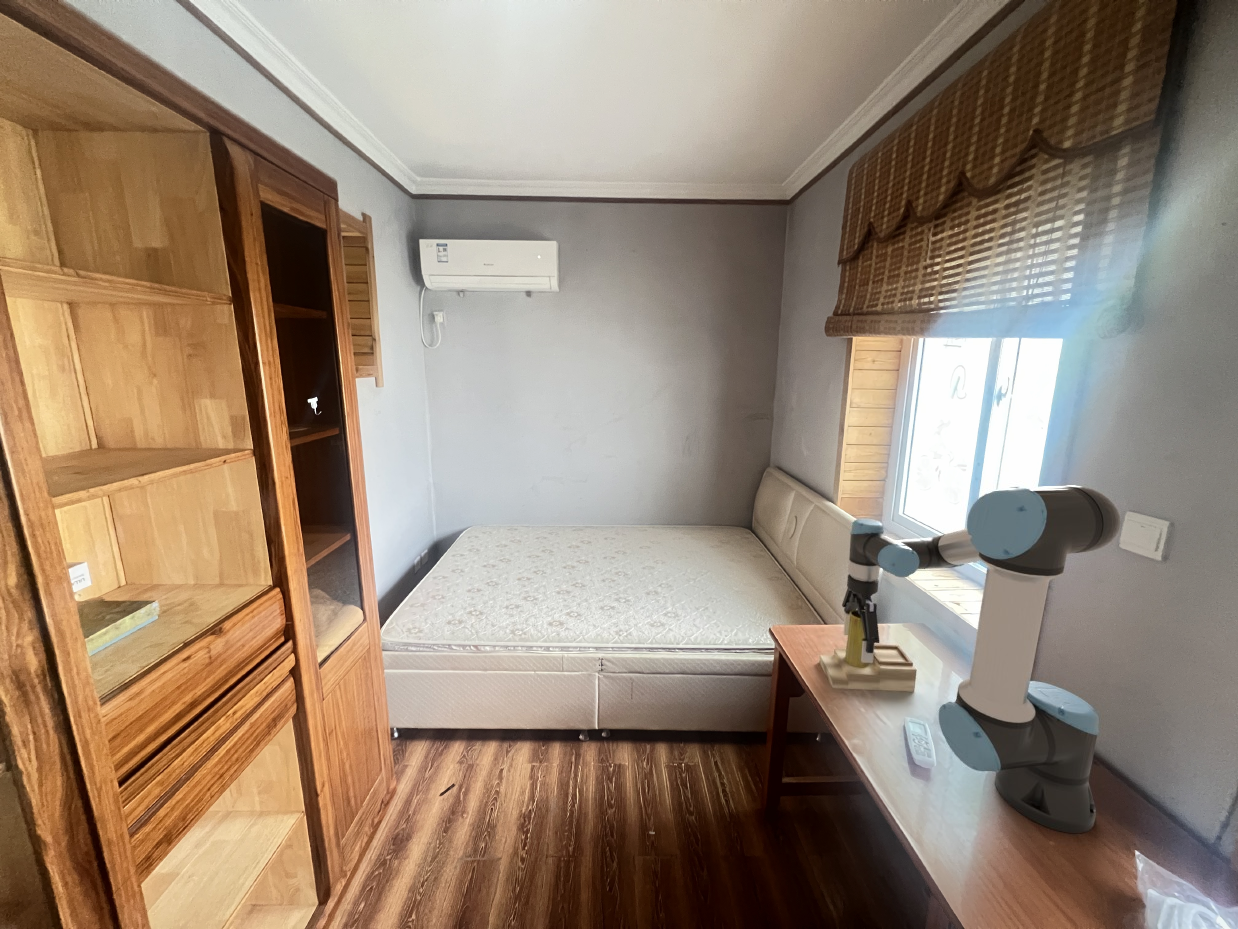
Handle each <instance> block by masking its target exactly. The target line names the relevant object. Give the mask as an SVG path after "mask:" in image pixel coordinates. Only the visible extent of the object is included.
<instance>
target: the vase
mask: <svg viewBox="0 0 1238 929" xmlns="http://www.w3.org/2000/svg"><path fill="white" fill-rule="evenodd" d="M846 638H847V639H846V646H845V649H846V655H845V661H846V662H847V663H848V664H850V665H852V666H855V667H866V666H868V665H869V663H862V662H861V655H862V644H863V641H862V639H863V638H865V637H864V632H863V626H862V621H861V615H859V614H858V609H856V610H852V611H851V612H850V621H849V630H848V635H847V637H846Z"/></svg>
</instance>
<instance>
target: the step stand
mask: <svg viewBox="0 0 1238 929" xmlns="http://www.w3.org/2000/svg"><path fill="white" fill-rule="evenodd" d="M845 655H846V648H842V649H841V648H834V652H833V654H819V661H818V662H819V664H820V667H821V668H822V670H823V672H824V675H825V676H826V678H827V680H828V682H829V684H830V686H831V688H832V689H841V690H842V689H845V690H866V691H867V690H869V691H887V692H888V691H890V692H910V693H913V692H914V693H915V688H916V679H917V668H916V667H915V666H914V663H913V661H912V659H910V658H909V657H908V655H907V654H906V653H905V651H903V649H902V648H901V646H899V645H897V644H883V643H882V644H880V643H875V644H874V655H873V663H869V665H868V666H866V667H855V666H852V665H850V664H848V663H847V662H846V661H845Z"/></svg>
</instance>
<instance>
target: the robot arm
mask: <svg viewBox="0 0 1238 929" xmlns="http://www.w3.org/2000/svg"><path fill="white" fill-rule="evenodd" d="M966 519H967V521H966V528H964V529H960V530H956V531H952V532H950V533H945V534H941V535H939V536H933V537H922V538H907V539H906V538H905V539H904V538H903V539H893V538H891V537H889V536H886V534H884V533H885V530H884V525H883V523H882V522H881V521H879V520H877V519H871V518H857V519H855V520H853V522H852V525H851V531H850V538H849V539H850V540H849V558H848V566H847V580H846V581H847V582H846V584H847V585H846V586H847V588H846V589H847V590H846V592H845V595H844V598H843V600H842V604H841V606H842V608H843V609H844V610H843V612H844V623H843V632H842V633H843V636H848V630H849V621H850V612H851V611H852V610H858V614H859V615H861V621H862V626H863V632H864V637H865V638H863V639H862V641H863V644H862V655H861V662H862V663H873V655H874V644H880V633H879V625H878V622H879V621H878V613H877V610H878V609H877V606H878V604H877V603H876V602H873V601H872V596H873V595H874V594H875V595H876V594H877V593H878V590H879V583H880V582H879V581H880V580H879V577H880V571H881V570H880V569H882V570H883V571H884V572H886V573H887V574H890V575H893V576H894V577H898V578H908V577H909V576H911V575H914V574H915V573H916V571H917V570H926V569H952V568H953V569H954V568H957V567H962V566H965V564H970V563H975V562H982V563H983V564H984V565H985V566H986V567H987V568H986V573H985V579H984V588H983V592H982V599H981V606H980V611H979V618H978V622H977V623H978V624H977V631H976V636H975V642H974V648H973V654H972V661H971V667H970V674H969V678H968V679H964V680H962V681H961V682H960V683H959V684H958V686H957V693H956V696H955V697H956V699H955V701H954V702H953V701H947V702H946V703H943V704H941V706H940V707H939V710H938V723H939V727H940V731H941V733H942V735H943V737H944V739H945V741H946V744H947V745H948V747H949V749H951V750H950V751H951V752H953V754H954V755H955V756H956V757H957V758H958V759H959V761H960V762H961V763H963V764H964V765H965V766H967V767H968V768H969V769H972V770H974V771H977V772H994V773H995V776H994V783H995V784H994V785H995V787H996V789H997V791H998V793H999V794H1000V796H1001V797H1002V798H1003V799H1004V800H1005V802H1006V803H1007V804H1009V805H1010V806H1011V807H1012V808H1013V809H1015V810H1016V811H1017V812H1018V813H1020V814H1021V815H1023V816H1024V817H1026V818H1028V819H1030V820H1031V821H1033V822H1035V823H1036V824H1039V825H1041V826H1044V827H1047V828H1049V829H1051V830H1054V831H1058V832H1062V833H1067V834H1083V833H1087V832H1089V831H1090V830H1091V829H1092V828H1093V827H1094V825H1095V819H1096V815H1097V814H1096V813H1097V810H1096V805H1095V802H1094V798H1093V795H1092V791H1091V787H1090V783H1089V779H1090V773H1091V770H1092V763H1093V760H1094V759H1093V758H1094V754H1095V749H1096V743H1097V738H1098V735H1099V734H1100V730H1099V724H1100V723H1099V722H1100V718H1099V715H1098V713H1097V711H1096V710H1095V709H1094V707H1093V706H1092V705H1090V703H1089V702H1087V701H1086V700H1084V699H1082V698H1081V697H1079V696H1077V695H1076V694H1074V693H1072V692H1070V691H1068V690H1066V689H1064V688H1060V687H1058V686H1056V685H1053V684H1050V683H1046V682H1042V681H1035V680H1031V678H1032V672H1033V668H1034V662H1035V657H1036V652H1037V646H1038V640H1039V637H1040V631H1041V625H1042V620H1043V614H1044V611H1045V610H1044V609H1045V605H1046V600H1047V599H1046V598H1047V595H1048V589H1049V584H1050V581H1051V580H1053V579H1055V578H1058V577H1060V576H1062V575H1063V573H1064V570H1065V566H1066V561H1067V556H1068V555H1069V554H1080V553H1088V552H1093V551H1097V550H1099V549H1102V548H1104V547H1105V546H1108V544H1110V543H1111V542H1113V540H1115V538H1116V537H1117V534H1118V533H1119V531H1120V528H1121V516H1120V513H1119V510H1118V508H1117V507H1116V505H1115V504H1114V503H1113V502H1112V500H1110V498H1109V497H1108V496H1106V495H1104V494H1103V493H1101V492H1099V491H1097V490H1095V489H1092V488H1090V487H1086V486H1080V485H1069V484H1068V485H1054V486H1053V485H1052V486H1033V487H1031V486H1029V487H1028V486H1027V487H1021V486H1013V487H1011V486H1010V487H1007V488H1004V489H1003V488H1002V489H995V490H991V491H988V492H986V493H984V495H982V496H980V497H979V498H978V499H976V500H975V501H974V503H973V504H972V506H970V510H969V512H968V514H967V518H966Z"/></svg>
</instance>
